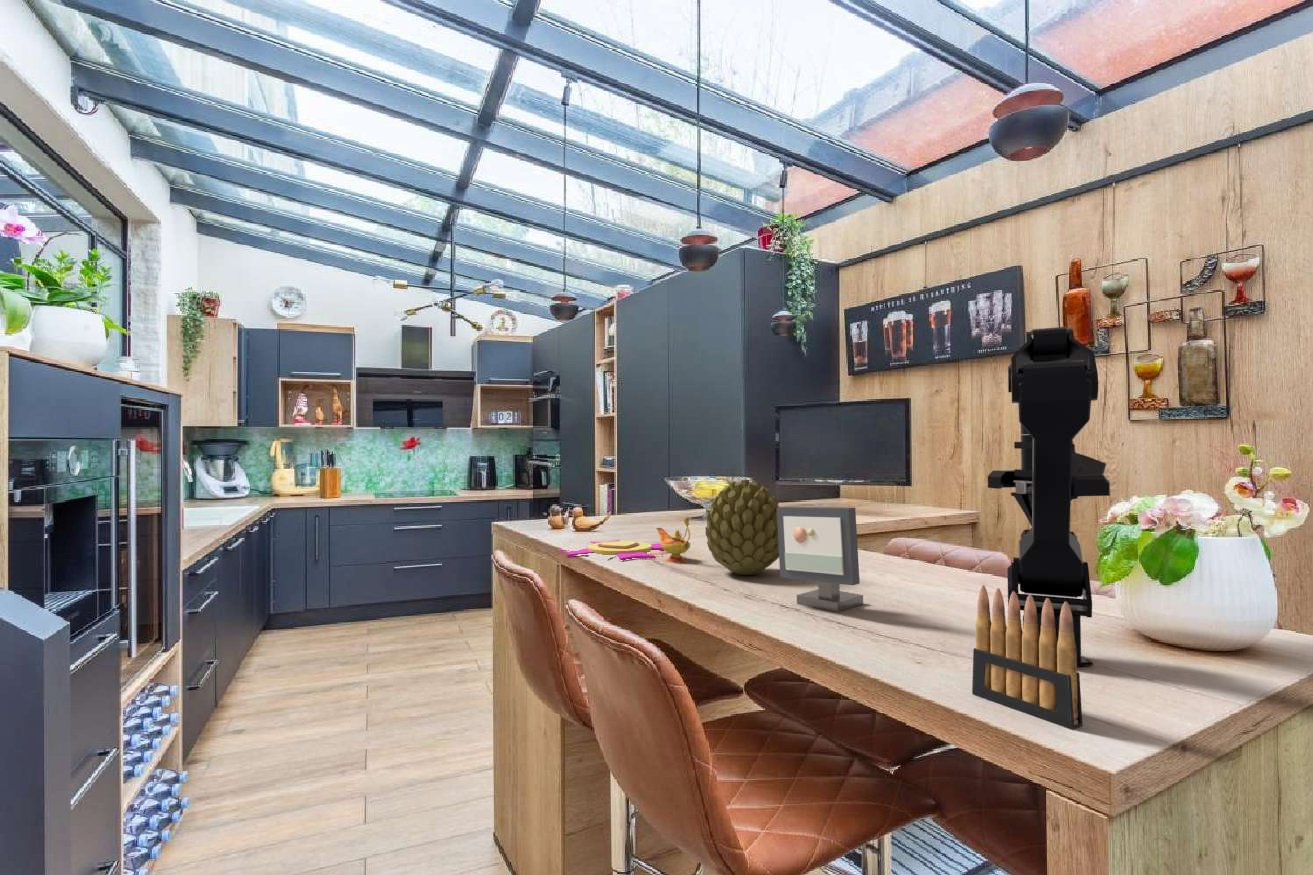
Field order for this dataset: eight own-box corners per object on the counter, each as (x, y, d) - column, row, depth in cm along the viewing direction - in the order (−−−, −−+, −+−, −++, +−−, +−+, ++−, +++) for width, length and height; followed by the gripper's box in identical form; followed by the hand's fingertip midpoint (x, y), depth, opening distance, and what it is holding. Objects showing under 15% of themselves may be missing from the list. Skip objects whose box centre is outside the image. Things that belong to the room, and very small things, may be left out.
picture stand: (863, 603, 114) (862, 522, 115) (836, 612, 109) (835, 526, 109) (823, 596, 120) (822, 518, 120) (796, 603, 115) (795, 522, 115)
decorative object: (765, 565, 152) (764, 477, 152) (800, 579, 136) (799, 480, 136) (695, 569, 147) (694, 478, 148) (722, 584, 131) (721, 482, 131)
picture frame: (859, 583, 106) (855, 507, 106) (851, 585, 104) (846, 508, 104) (787, 575, 116) (783, 506, 116) (778, 577, 114) (774, 507, 115)
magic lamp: (669, 553, 170) (669, 509, 170) (703, 564, 153) (702, 516, 153) (644, 555, 167) (644, 511, 167) (676, 567, 150) (676, 518, 151)
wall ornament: (576, 556, 154) (551, 539, 183) (577, 566, 154) (551, 548, 183) (695, 548, 165) (653, 533, 193) (695, 557, 165) (653, 541, 193)
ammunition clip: (971, 694, 73) (970, 584, 73) (982, 691, 74) (980, 582, 74) (1072, 730, 64) (1070, 604, 64) (1083, 726, 65) (1081, 602, 65)
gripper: (1146, 433, 89) (1148, 550, 89) (1049, 435, 108) (1051, 531, 108) (1069, 433, 88) (1071, 552, 88) (985, 435, 106) (986, 533, 106)
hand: (1044, 541), depth 97 cm, fingers closed
